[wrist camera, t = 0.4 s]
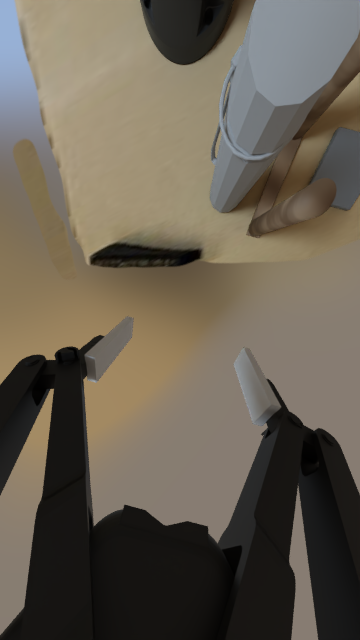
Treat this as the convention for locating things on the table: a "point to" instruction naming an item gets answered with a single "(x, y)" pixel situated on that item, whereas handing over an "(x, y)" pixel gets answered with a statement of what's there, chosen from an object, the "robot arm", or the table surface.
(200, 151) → the table surface
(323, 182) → the gate
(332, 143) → the pad
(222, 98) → the water bottle
